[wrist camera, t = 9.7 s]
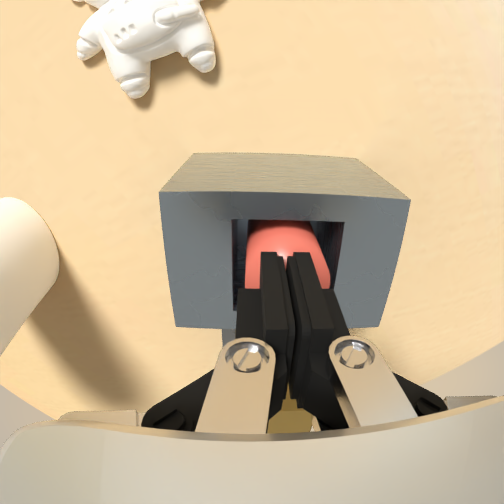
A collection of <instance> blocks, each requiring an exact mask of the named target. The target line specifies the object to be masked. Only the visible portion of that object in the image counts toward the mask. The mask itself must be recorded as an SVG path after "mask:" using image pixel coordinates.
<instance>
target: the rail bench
mask: <svg viewBox="0 0 504 504" xmlns="http://www.w3.org/2000/svg"><path fill="white" fill-rule="evenodd" d="M159 200H160V211H161V221H162V230H163V239H164V248H165V256H166V264H167V271H168V279H169V286H170V293H171V299H172V306H173V312H174V318H175V324H176V327H189V328H213V329H222V340H223V347H224V346H225V345H226V344H227V343H228V342H231V341H233V340H235V337H236V318H237V300H238V288H245V271H246V245H247V224H248V220H249V219H259V220H302V221H310V223H311V226H312V228H313V231H314V233H315V236H316V238H317V241H318V243H319V246H320V249H321V251H322V254H323V256H324V259H325V261H326V264H327V267H328V269H329V273H330V286H329V289H333V290H334V292H335V295H336V297H337V300H338V303H339V305H340V308H341V311H342V314H343V316H344V319H345V322H346V325H347V328H367V327H379V324H380V320H381V317H382V314H383V311H384V308H385V304H386V301H387V298H388V294H389V291H390V287H391V283H392V280H393V276H394V272H395V268H396V265H397V261H398V257H399V253H400V248H401V244H402V240H403V235H404V231H405V226H406V222H407V217H408V212H409V207H410V201H411V200H410V199H409V198H408V197H407V196H405V195H404V194H403V193H402V192H400V191H399V190H398V189H396V188H395V187H394V186H393V185H391V184H390V183H389V182H387V181H386V180H385V179H383V178H382V177H381V176H379V175H378V174H377V173H375V172H374V171H373V170H371V169H370V168H369V167H367V166H366V165H365V164H363V163H362V162H360V161H359V160H358V159H354V158H343V157H330V156H314V155H296V154H269V153H194V154H193V155H192V156H191V157H190V158H189V159H188V160H187V161H186V162H185V163H184V164H183V165H182V167H181V168H180V169H179V170H178V171H177V172H176V173H175V174H174V175H173V176H172V178H171V179H170V180H169V181H168V182H167V183H166V184H165V185H164V187H163V188H162V189H161V190H160V191H159Z"/></svg>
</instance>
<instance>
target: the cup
mask: <svg viewBox="0 0 504 504" xmlns="http://www.w3.org/2000/svg"><path fill="white" fill-rule="evenodd" d="M58 273H59V254H58V249H57V246H56V243H55V240H54V238H53V235H52V233H51V231H50V229H49V228H48V226H47V224H46V223H45V221H44V220H43V219H42V217H41V216H40V215H39V214H38V213H37V212H36V211H35V210H34V209H33V208H32V207H31V206H29V205H28V204H27V203H25V202H23V201H21V200H19V199H16V198H11V197H5V198H1V199H0V356H1V355H2V353H3V352H4V350H5V349H6V347H7V346H8V344H9V343H10V341H11V340H12V339H13V337H14V336H15V334H16V333H17V332H18V330H19V329H20V327H21V326H22V325H23V323H24V322H25V321H26V319H27V318H28V317H29V315H30V314H31V313H32V311H33V310H34V309H35V307H36V306H37V305H38V304H39V302H40V301H41V300H42V298H43V297H44V296H45V295H46V293H47V292H48V291H49V290H50V288H51V287H52V286H53V285H54V283H55V281H56V279H57V277H58Z"/></svg>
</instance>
